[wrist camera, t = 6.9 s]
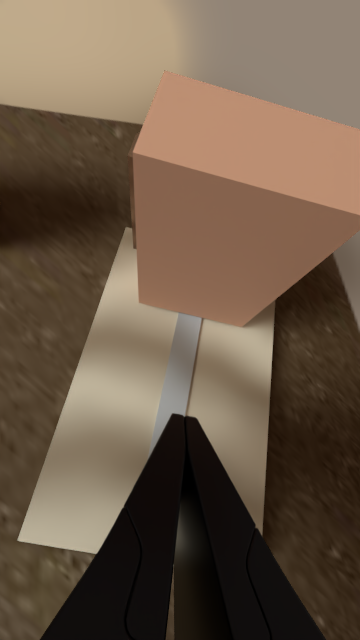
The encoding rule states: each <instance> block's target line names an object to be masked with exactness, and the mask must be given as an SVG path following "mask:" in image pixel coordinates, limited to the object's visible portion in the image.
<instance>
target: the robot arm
mask: <svg viewBox="0 0 360 640" xmlns="http://www.w3.org/2000/svg"><path fill="white" fill-rule="evenodd" d="M255 527H256V524H255V522H254V521H253V519H252V517H251V515H250V513H249V512H248V510H247V508H246V506H245V504H244V502H243V501H242V499H241V497H240V495H239V493H238V492H237V490H236V488H235V486H234V484H233V483H232V481H231V479H230V477H229V475H228V473H227V472H226V470H225V468H224V466H223V464H222V463H221V461H220V459H219V457H218V455H217V454H216V452H215V450H214V448H213V446H212V444H211V443H210V441H209V439H208V437H207V435H206V434H205V432H204V430H203V428H202V426H201V425H200V423H199V421H198V419H197V418H196V417H192V416H187V415H186V416H183V415H181V414H176V413H172V414H171V416H170V418H169V420H168V422H167V424H166V426H165V428H164V430H163V431H162V433H161V435H160V437H159V439H158V441H157V443H156V445H155V447H154V449H153V451H152V452H151V454H150V456H149V458H148V460H147V462H146V464H145V466H144V468H143V470H142V472H141V473H140V475H139V477H138V479H137V481H136V483H135V485H134V487H133V489H132V491H131V493H130V494H129V496H128V498H127V500H126V502H125V504H124V507H123V508H122V509H121V511H120V513H119V515H118V517H117V519H116V521H115V523H114V525H113V526H112V528H111V530H110V532H109V533H108V535H107V537H106V539H105V541H104V542H103V544H102V546H101V548H100V549H99V551H98V552H97V554H96V555H95V557H94V559H93V560H92V562H91V563H90V565H89V566H88V568H87V570H86V571H85V573H84V574H83V576H82V577H81V579H80V580H79V582H78V583H77V585H76V586H75V588H74V589H73V591H72V592H71V594H70V595H69V597H68V598H67V600H66V601H65V603H64V604H63V606H62V607H61V609H60V610H59V612H58V613H57V615H56V616H55V618H54V619H53V621H52V622H51V624H50V625H49V627H48V628H47V630H46V631H45V633H44V634H43V636H42V637H41V639H40V640H165V638H166V629H167V620H168V611H169V602H170V593H171V584H172V575H173V566H174V637H175V640H326V639H325V637H324V636H323V634H322V633H321V631H320V630H319V628H318V626H317V625H316V623H315V622H314V620H313V619H312V617H311V616H310V614H309V613H308V611H307V610H306V608H305V606H304V605H303V603H302V602H301V600H300V599H299V597H298V596H297V594H296V592H295V591H294V589H293V588H292V586H291V584H290V583H289V581H288V580H287V578H286V576H285V575H284V573H283V572H282V570H281V568H280V566H279V565H278V563H277V561H276V560H275V558H274V556H273V554H272V553H271V551H270V549H269V547H268V546H267V544H266V542H265V540H264V539H263V537H262V535H261V533H260V531H259V529H258V528H255Z"/></svg>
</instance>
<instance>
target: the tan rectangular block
mask: <svg viewBox="0 0 360 640" xmlns="http://www.w3.org/2000/svg"><path fill="white" fill-rule="evenodd" d="M133 174H134V199H135V223H136V248H137V272H138V297H139V303H142V304H146V305H150V306H154V307H159V308H163V309H167V310H171V311H176V312H180V313H184V314H188V315H193V316H197V317H201V318H205V319H210V320H214V321H218V322H222V323H226V324H231V325H235V326H239V327H242V326H244V325H245V324H246V323H247V322H248V321H250V320H251V319H252V318H253V317H255V316H256V315H257V314H258V313H259V312H261V311H262V310H263V309H264V308H266V307H267V306H268V305H269V304H270V303H272V302H273V301H274V300H275V299H277V298H278V297H279V296H280V295H281V294H283V293H284V292H285V291H286V290H288V289H289V288H290V287H291V286H292V285H294V284H295V283H296V282H297V281H299V280H300V279H301V278H302V277H303V276H305V275H306V274H307V273H308V272H310V271H311V270H312V269H313V268H314V267H316V266H317V265H318V264H319V263H321V262H322V261H323V260H324V259H325V258H327V257H328V256H329V255H330V254H332V253H333V252H334V251H335V250H336V249H338V248H339V247H340V246H341V245H342V244H344V243H345V242H346V241H347V240H349V239H350V238H351V237H352V236H353V235H355V234H356V233H357V232H358V231H359V230H360V130H359V129H357V128H353V127H350V126H346V125H343V124H340V123H337V122H333V121H330V120H327V119H323V118H320V117H317V116H314V115H310V114H307V113H304V112H300V111H297V110H294V109H290V108H287V107H284V106H280V105H277V104H274V103H271V102H267V101H264V100H261V99H257V98H254V97H251V96H247V95H244V94H241V93H237V92H234V91H230V90H227V89H224V88H221V87H217V86H214V85H211V84H208V83H204V82H201V81H197V80H194V79H191V78H188V77H184V76H181V75H178V74H174V73H171V72H168V71H164V73H163V75H162V78H161V81H160V83H159V86H158V88H157V91H156V94H155V96H154V99H153V101H152V104H151V106H150V109H149V111H148V114H147V117H146V119H145V122H144V124H143V127H142V129H141V132H140V135H139V137H138V140H137V142H136V145H135V147H134V150H133Z"/></svg>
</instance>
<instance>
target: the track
mask: <svg viewBox="0 0 360 640" xmlns="http://www.w3.org/2000/svg"><path fill="white" fill-rule="evenodd" d="M139 135H140V133H138V132H137V134H136V136H135V139H134V141H133V144H132V146H131V149H130V151H129V154H128V169H129V186H130V202H131V218H132V228H128V227H126V229H125V232H124V234H123V237H122V240H121V243H120V246H119V249H118V252H117V255H116V257H115V260H114V263H113V266H112V269H111V272H110V275H109V278H108V281H107V283H106V286H105V289H104V292H103V295H102V298H101V301H100V304H99V307H98V309H97V312H96V315H95V318H94V321H93V324H92V327H91V330H90V333H89V335H88V338H87V341H86V344H85V347H84V350H83V353H82V356H81V358H80V361H79V364H78V367H77V370H76V373H75V376H74V379H73V382H72V384H71V387H70V390H69V393H68V396H67V399H66V402H65V405H64V408H63V410H62V413H61V416H60V419H59V422H58V425H57V428H56V431H55V434H54V436H53V439H52V442H51V445H50V448H49V451H48V454H47V457H46V459H45V462H44V465H43V468H42V471H41V474H40V477H39V480H38V483H37V485H36V488H35V491H34V494H33V497H32V500H31V503H30V506H29V509H28V511H27V514H26V517H25V520H24V523H23V526H22V529H21V532H20V535H19V537H18V540H17V541H22V542H28V543H34V544H40V545H46V546H52V547H58V548H64V549H70V550H76V551H82V552H88V553H94V554H97V552H98V551H99V549H100V548H101V546H102V544H103V542H104V541H105V539H106V537H107V535H108V533H109V532H110V530H111V528H112V526H113V525H114V523H115V521H116V519H117V517H118V515H119V513H120V511H121V509H122V508H123V507H124V504H125V502H126V500H127V498H128V496H129V494H130V493H131V491H132V489H133V487H134V485H135V483H136V481H137V479H138V477H139V475H140V473H141V472H142V470H143V468H144V466H145V464H146V462H147V460H148V458H149V456H150V454H151V452H152V451H153V449H154V447H155V445H156V443H157V441H158V439H159V437H160V435H161V433H162V431H163V430H164V428H165V426H166V424H167V422H168V420H169V418H170V416H171V414H172V413H176V414H181V415H183V416H186V415H187V416H192V417H196V418H197V419H198V421H199V423H200V425H201V426H202V428H203V430H204V432H205V434H206V435H207V437H208V439H209V441H210V443H211V444H212V446H213V448H214V450H215V452H216V454H217V455H218V457H219V459H220V461H221V463H222V464H223V466H224V468H225V470H226V472H227V473H228V475H229V477H230V479H231V481H232V483H233V484H234V486H235V488H236V490H237V492H238V493H239V495H240V497H241V499H242V501H243V502H244V504H245V506H246V508H247V510H248V512H249V513H250V515H251V517H252V519H253V521H254V522H255V524H256V527H255V528H258V529H259V531H260V533H261V535H262V531H263V513H264V495H265V477H266V459H267V441H268V423H269V405H270V387H271V369H272V351H273V332H274V314H275V300H274V301H273V302H272V303H270V304H269V305H268V306H267V307H266V308H264V309H263V310H262V311H261V312H259V313H258V314H257V315H256V316H255V317H253V318H252V319H251V320H250V321H248V322H247V323H246V324H245V325H244V326H242V327H239V326H235V325H231V324H226V323H222V322H218V321H214V320H210V319H205V318H201V317H197V316H193V315H188V314H184V313H180V312H176V311H171V310H167V309H163V308H159V307H154V306H150V305H146V304H142V303H139V297H138V272H137V248H136V223H135V199H134V174H133V150H134V147H135V145H136V142H137V140H138V137H139ZM173 567H174V566H173Z"/></svg>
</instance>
